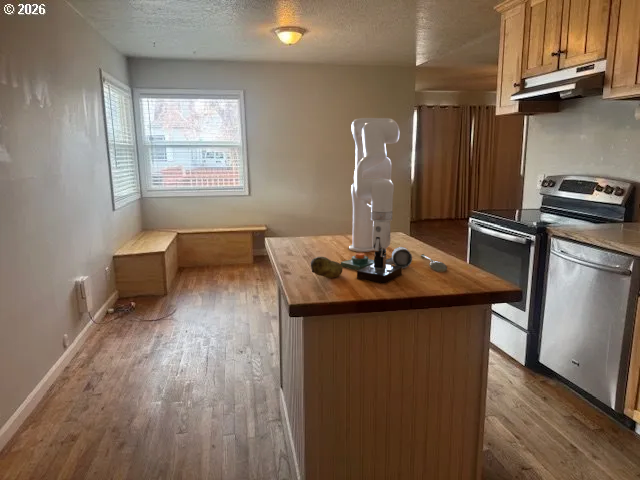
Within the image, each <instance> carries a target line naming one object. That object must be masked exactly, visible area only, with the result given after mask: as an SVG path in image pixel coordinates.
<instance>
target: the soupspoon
mask: <svg viewBox="0 0 640 480" xmlns="http://www.w3.org/2000/svg"><path fill="white" fill-rule="evenodd" d="M420 258H422V259H424V258H425V259H427V260H429V261H430V263H428V266H429V267H430V269H432V270H433V271H436V272H438V273H439V272H440V273H441V272H442V273H443V272H446V271H447V270H448V266H447V264H445V263H443V261H437V260H435V261H434V260H433V259H432V258H431V257H429V256H426V255H425V253H422V254H420Z"/></svg>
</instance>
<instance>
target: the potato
mask: <svg viewBox="0 0 640 480" xmlns="http://www.w3.org/2000/svg"><path fill="white" fill-rule="evenodd" d="M310 268H311V273H313V274H315V275H316V276H318V277H319V276H320V277H324V278H327V279H334V278H337V277H339V276H340V275H342V273H343V270H344V267H342V265H341V262H340V263H339V262H337V261H334V260H331V259H329V258H328V257H325V256H316V257H314V258H312V259H311V262H310Z"/></svg>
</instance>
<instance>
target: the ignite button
mask: <svg viewBox="0 0 640 480" xmlns="http://www.w3.org/2000/svg"><path fill="white" fill-rule="evenodd" d="M365 254H366V253H365V252H357V253H355V256H356V257H355V258H358V259H363V258H365V256H366V255H365Z"/></svg>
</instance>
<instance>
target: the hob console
mask: <svg viewBox="0 0 640 480" xmlns="http://www.w3.org/2000/svg"><path fill="white" fill-rule="evenodd" d="M402 275H403V268H402V267H398V266H395V265H393V264H392V265H386V269H385V270H376V269H374V264H372V265H369V266H367V267H365V268H363V269H360V270H356V279H357V280H361V281H367V282H372V283H377V284H381V285H387V284H388V283H390V282H392V281H393V280H396V279H397V278H399V277H400V276H402Z"/></svg>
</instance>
